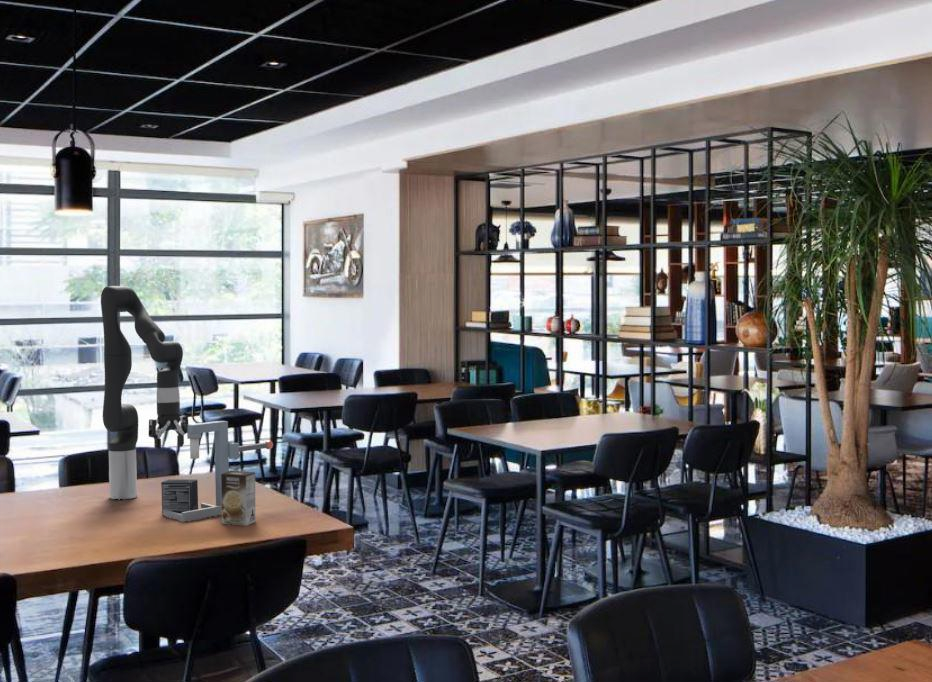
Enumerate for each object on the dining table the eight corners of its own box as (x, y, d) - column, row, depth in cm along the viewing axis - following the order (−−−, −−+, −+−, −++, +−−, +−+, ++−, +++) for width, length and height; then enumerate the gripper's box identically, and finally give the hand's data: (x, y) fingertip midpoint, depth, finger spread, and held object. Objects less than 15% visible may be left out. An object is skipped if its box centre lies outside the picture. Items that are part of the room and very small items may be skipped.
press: (162, 516, 334) (160, 424, 332) (223, 505, 350) (221, 418, 348) (183, 522, 324) (181, 428, 323) (244, 510, 340) (243, 421, 339)
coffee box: (220, 524, 321) (219, 473, 320) (231, 519, 327) (230, 470, 326) (246, 526, 318) (245, 475, 317) (256, 521, 324) (255, 471, 323)
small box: (199, 509, 343) (198, 478, 343) (192, 513, 337) (191, 482, 336) (168, 509, 344) (168, 478, 344) (161, 513, 338) (160, 482, 337)
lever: (274, 449, 353) (274, 440, 352) (229, 455, 340) (229, 446, 340) (269, 448, 355) (269, 439, 355) (225, 454, 342) (224, 445, 342)
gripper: (179, 398, 354) (181, 444, 355) (143, 401, 344) (144, 449, 344) (192, 399, 350) (193, 446, 350) (156, 403, 339) (157, 451, 339)
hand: (169, 448), depth 347 cm, fingers open, 8 cm apart
